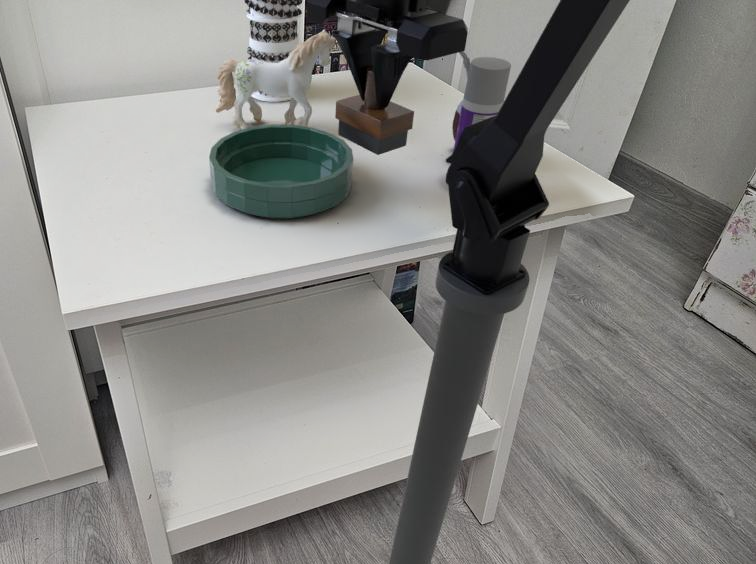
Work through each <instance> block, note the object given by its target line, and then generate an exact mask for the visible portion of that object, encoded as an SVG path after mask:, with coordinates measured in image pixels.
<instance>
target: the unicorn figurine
mask: <svg viewBox="0 0 756 564" xmlns="http://www.w3.org/2000/svg"><path fill="white" fill-rule="evenodd" d="M336 41H337V40H336V39H335V38H333V37H332V35H330V33H328V32H327V31H326V29H323V30H322V31H320V32H319V33H317V34H314V35H312V36H309V38H307V39H306V40H305V41H304V42H300V43H299V44H298V46H297V47H296V49H294V50H293V51H292V52H291V53H290V54H289V56H288V58H287V59H284V60H282V61H280V62H279V63H270V62H265V61H260V60H256V59H249V60H248V59H246V60H243V61H241V62H237V61H236V60H235V59H232V58H228V59H226V60H225V61H224V62H223V63H222V65H220V67H219V68H218V71H219V73H218V75H217V80H218V86H219V87H220V88H219V89H218V90H217V93H218V96H220V99H219V102H220V103H219V105H218V107H217V108H216V109H215V112H216V113H217V114H218V113H221V112H223V111H230V110H231V109H232V108H233V107H234V112H235V114H234V115H233V117H232V118H233V120H232V124H233V126H235V128H236V129H239V128H240V130H243V129H247V128H251V126H250V124H249V123H247V122H246V121H245V120H244V117H243V107H244V105H245V103H248V105H249V111H250V113H251V114H252V116H253V120H254V121H255V122H256V124H261V123H262V117H263V110H262V107H261V105H260V104H258V103H257V102H256V100H255V99H254V98H253V97H252V96H251V95H252V94H253V93H254V92H255V91H262V92H264V93H266V94H268V95H271V96H277V97H283V96H289V95H290V96H291V100H289V107H288V109H287V110H286V112H285V113H284V121H285V122H284V125H289V124H290V125H297V126H304V127H308V125H309V121H310V119H311V116H312V114H313V108H312V106H311V103H310V102H309V100H308V98H307V96H306V94H307V92H308V91H309V90H310V88H311V85H312V79H313V71H314V67H315V65H316V62H317V60H318V59H319V66H321V67H327V66H329V65H330V64H331V62H332V60H331V58H330V54H331V51H332V50H333V47H335V46H336ZM233 73H234V75H233ZM235 86H236V87H235ZM236 88H237V90H238V97H237V90H236ZM298 104H299V105H300V106H301V107H302V108H303V111H304V112H303V116H299V117H296V116H295V110H296V107H297V105H298Z"/></svg>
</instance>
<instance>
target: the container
mask: <svg viewBox="0 0 756 564" xmlns="http://www.w3.org/2000/svg"><path fill="white" fill-rule="evenodd" d="M470 63H471V65H470V70H469V75H468V79H467V78H466V79H467V80H466V85H465V89H464V94H463V98H462V100H463V103H462V107H461V113H460V118H459V123H458V129H457V134H456V139H455V140H454V145H453V149H452V150H453V151H452V153H453V152H454V150H455V148H456V146H457V143H458V140H459V137H460V135H461V133H462V131H463V130H464V128H465V127H467V126H469V125H472V124H474V123H477V122H480V121H482V120H485V119H487V118H490V117H493V116H495V115H497V114H498V112H499V110H500V108H501V106H502V105H503V103H504V101H505V99H506V93H507V88H508V83H509V78H510V73H511V68H512V64H511V62H510V61H508V60H505V59H503V58H500V57H493V56H480V57H475V58H473V59H472V60H470Z"/></svg>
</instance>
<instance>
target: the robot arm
mask: <svg viewBox="0 0 756 564" xmlns="http://www.w3.org/2000/svg"><path fill="white" fill-rule="evenodd" d="M630 1H631V0H559V2H558V4H557V5H556V7H555V9H554V11H553V13H552V15H551V16H550V18H549V20H548V21H547V24H546V25H545V27H544V29H543V31H542V33H541V34H540V36H539V38H538V40H536V43H535V45H534V47H533V48H532V51H531V52H530V54H529V56H528V58H527V59H526V61H525V63H524V65H523V67H522V69H521V70H520V71H519V74H518V76H517V78H516V79H515V81H514V83H513V85H512V87H511V89H510V90H509V92H508V94H507V95H506V96H505V98H504V103H503V105H502V106H501V108H500V110H499V112H498V114H497V115H495V116H493V117H490V118H487V119H485V120H482V121H480V122H477V123H474V124H472V125H469V126H467V127H465V128H464V130H463V131H462V133H461V135H460V137H459V140H458V143H457V146H456V148H455V150H454V149H453V150H454V152H453V151H452V153H451V155H449V156H448V157H447V158H446V159H445V163H447V164H450V165H449V166H448V168H447V171H446V174H445V184H446V185H447V189H448V196H449V197H448V198H449V206H450V215H451V216H450V217H451V224H452V225H451V226H452V227H453V228H455V229H456V233H455V236H454V242H453V247H452V250H451V252H452V257H454V259H451V260H449V261H447V262H445V263H444V264H443V269H445V270H446V271H448V272H449V273H451V274H452V275H454V276H456V277H457V278H459V279H460V280H462V281H463V282H465V283H466V284H468V285H469V286H471V287H473V288H474V289H476V290H477V291H479V292H480V293H482V294H484V295H490V294H492V293H494V292H496V291H498V290H500V289H502V288H504V287H506V286H508V285H510V284H512V283H514V282H516V281H518V280H520V279H522V278H524V277H525V275H526V271H525V270H523V269H521V268H519V267H520V264H522V260H523V256H524V254H525V249H526V247H527V246H526V245H527V243H528V240H529V237H530V233H531V230H530V229H529V228H527V227H526V225H527V224H529V223H531V222H533V221H535V220H536V221H537V220H538V219H540V218H541V217H542V216H543V214H544V213H545V212H546V211H547V209H548V208H549V206H550V202H549V200H548V198H547V195H546V194H545V191H544V189H543V187H542V185H541V183H540V180H539V179H538V176H537V174H536V172H537V171H538V167H540V166H539V165H540V163H541V161H542V159H543V157H544V146H545V135H546V133H547V131H548V128H549V127H550V125H551V123H553V120H554V119H555V117H556V116H557V114H558V113H559V111H560V110H561V108H562V106H563V105H564V103H565V102H566V101H567V99H568V98H569V96H570V94H571V93H572V91H573V89H574V88H575V86H576V85H577V83H579V80H580V78H581V77H582V76H583V74H584V73H585V71H586V69H587V67H589V65H590V63H591V62H592V60H593V58H594V57H595V55H596V54H597V52H598V51H599V49H600V47H601V46H602V44H603V42H604V41H605V40H606V38H607V37H608V35H609V34H610V32H611V31H612V29H613V27H614V26H615V24H616V23H617V21H618V19H619V18H620V17H621V15H622V13H623V12H624V11H625V9H626V7H627V6H628V4H629V2H630ZM451 2H452V0H307V1H306V21H309V22H311V23H315V24H317V25H320V26H322V25H326V23H327V22H328V21H329V20H330V19H331V17H333V16H336V17H337V29H336V30H332V31H331V36H332V37H333V38H335V39H336V40H335V41H337V44H338V46H339V48H340V50H341V52H342V54H343V57H344V59H345V61H346V63H347V66H348V69H349V71H350V74H351V76H352V78H353V81H354V83H355V86H356V89H357V91H358V95H360V97H361V99H362V101H364V99H365V86H366V73H367V68H368V67H370V66H373V70H374V80H375V90H376V98H377V103H378V107H379V108H380V109H382V108H386V107H387V106H388V104H389V102H390V101H391V100H392V98H393V95H394V94H395V91H396V90H397V87H398V85H399V83H400V80H401V79H402V76H403V74H404V72H405V70H406V68H407V67H408V65H409V64H410V62H411V60H412V59H416V60H419V61H431V60H434V59H435V60H436V59H438V58H442V57H443V58H444V57H446V56H450V55H453V54H459V52H462V51H464V52H465V51H466V47H467V41H468V34H469V30H468V29H469V28H468V26H467V24H466V22H465V21H464V19H462V18H459V17H455V16H452V15H449V14H447V13H448V9H449V7H450V5H451ZM427 10H429V11H432V13H428V14H423V15H417V16H413V17H411V14H413V13H414V14H421V13H425V12H426V11H427ZM384 39H385V43H382V42H383V41H384Z"/></svg>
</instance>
